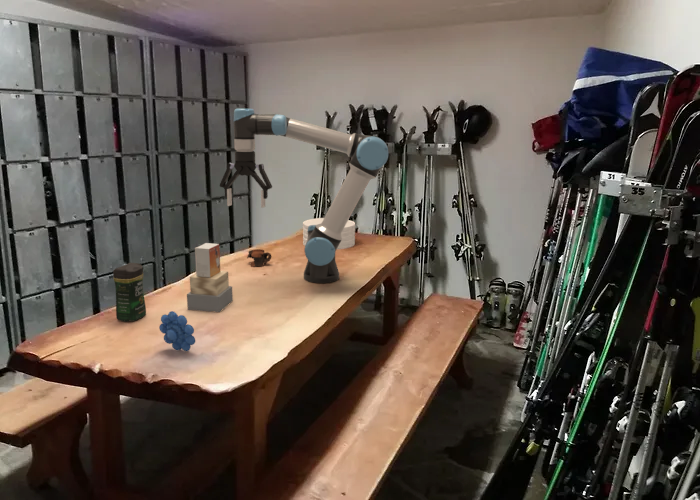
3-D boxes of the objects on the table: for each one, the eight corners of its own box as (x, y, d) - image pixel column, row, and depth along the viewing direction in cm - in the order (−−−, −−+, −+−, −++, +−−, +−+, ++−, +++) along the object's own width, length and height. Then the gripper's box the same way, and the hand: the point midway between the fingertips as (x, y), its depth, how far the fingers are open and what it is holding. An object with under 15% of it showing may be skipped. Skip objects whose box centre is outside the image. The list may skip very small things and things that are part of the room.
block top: (228, 287, 198) (228, 271, 197) (216, 295, 189) (216, 279, 187) (203, 284, 200) (202, 269, 199) (190, 293, 191) (189, 277, 189)
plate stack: (306, 237, 306) (306, 217, 303) (355, 238, 305) (355, 218, 302) (299, 249, 278) (299, 227, 276) (354, 250, 278) (354, 228, 275)
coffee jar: (133, 323, 177) (129, 269, 173) (112, 321, 179) (107, 267, 174) (150, 313, 186) (146, 261, 182) (130, 311, 188) (125, 260, 183)
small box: (210, 278, 188) (208, 249, 186) (195, 276, 190) (194, 247, 187) (221, 271, 196) (219, 243, 193) (207, 270, 197) (205, 242, 194)
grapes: (152, 353, 156) (149, 314, 153) (166, 344, 162) (163, 306, 159) (186, 359, 153) (184, 319, 150) (200, 350, 159) (198, 311, 156)
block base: (232, 301, 201) (232, 286, 199) (219, 313, 189) (219, 296, 188) (202, 299, 202) (201, 284, 201) (187, 310, 191) (186, 294, 190)
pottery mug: (244, 268, 244) (243, 250, 247) (253, 271, 253) (252, 255, 255) (268, 263, 242) (267, 245, 244) (277, 267, 250) (275, 250, 253)
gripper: (279, 151, 205) (280, 206, 210) (217, 149, 209) (219, 203, 214) (273, 152, 198) (274, 209, 203) (209, 150, 202) (212, 206, 207)
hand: (246, 206), depth 209 cm, fingers open, 13 cm apart
